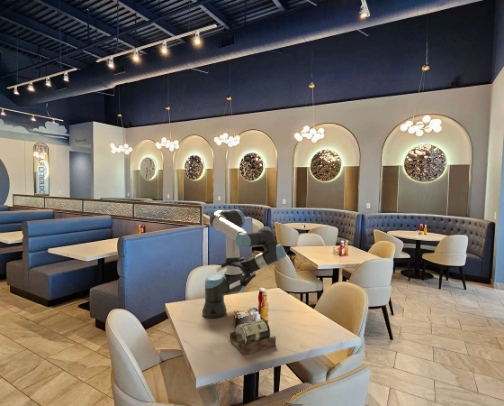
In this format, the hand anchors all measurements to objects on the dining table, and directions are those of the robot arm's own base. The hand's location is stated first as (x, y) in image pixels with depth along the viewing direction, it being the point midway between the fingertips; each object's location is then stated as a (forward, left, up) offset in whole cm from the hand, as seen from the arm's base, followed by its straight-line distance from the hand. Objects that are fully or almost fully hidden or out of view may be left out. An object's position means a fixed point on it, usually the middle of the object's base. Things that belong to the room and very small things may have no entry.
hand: (223, 278), depth 160 cm
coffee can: (+19, -7, -23) cm, 30 cm away
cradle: (+20, +1, -29) cm, 35 cm away
